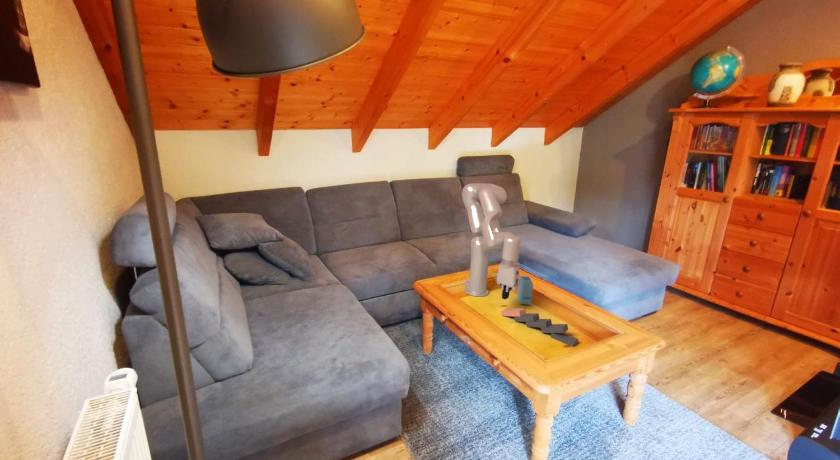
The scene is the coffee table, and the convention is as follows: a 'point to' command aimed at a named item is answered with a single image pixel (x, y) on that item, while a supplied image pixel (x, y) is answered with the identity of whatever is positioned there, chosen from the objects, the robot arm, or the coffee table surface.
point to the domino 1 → (513, 312)
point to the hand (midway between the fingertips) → (505, 298)
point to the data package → (525, 290)
